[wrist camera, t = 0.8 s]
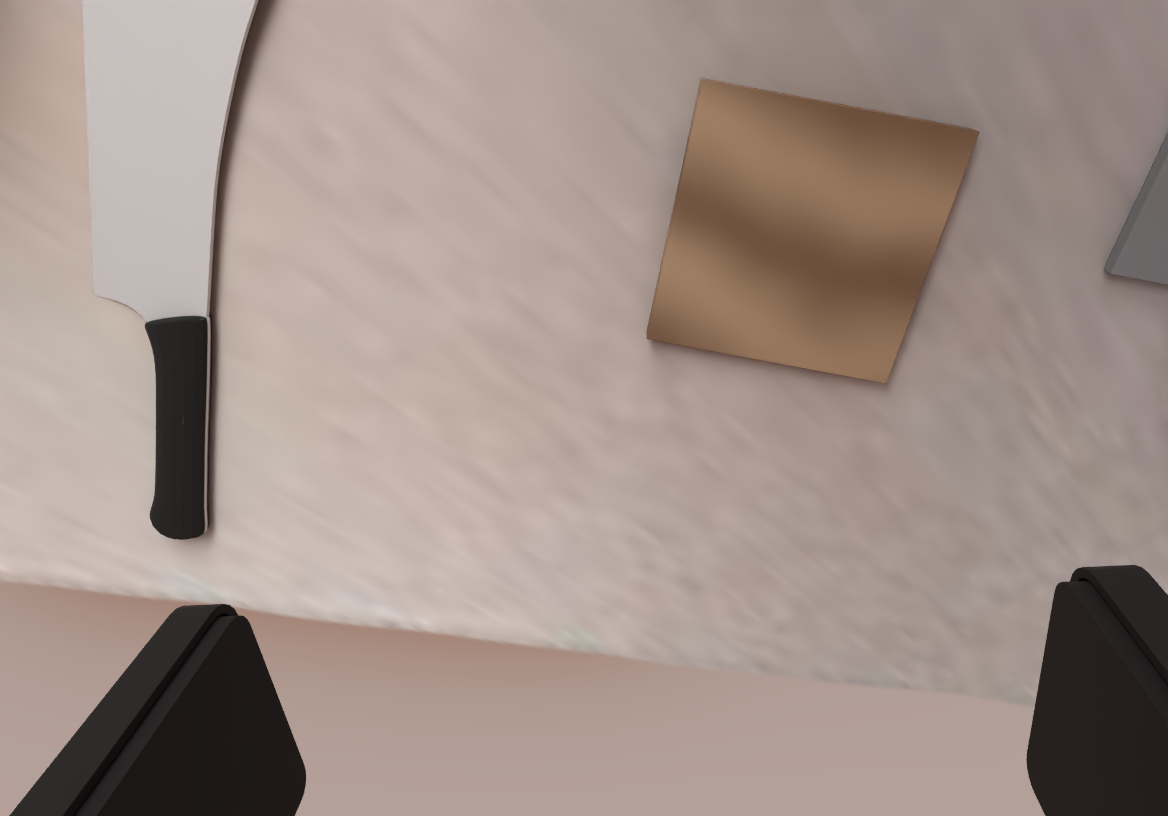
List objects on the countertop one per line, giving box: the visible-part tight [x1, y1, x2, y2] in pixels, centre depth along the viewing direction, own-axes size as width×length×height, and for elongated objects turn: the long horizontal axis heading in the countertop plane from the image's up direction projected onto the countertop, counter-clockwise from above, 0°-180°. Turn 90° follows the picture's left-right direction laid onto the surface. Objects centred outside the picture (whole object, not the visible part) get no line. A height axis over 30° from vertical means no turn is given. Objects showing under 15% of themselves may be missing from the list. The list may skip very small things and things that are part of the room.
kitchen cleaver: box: [82, 0, 259, 540], centre depth 37 cm, size 31×2×10 cm
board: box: [647, 78, 979, 383], centre depth 34 cm, size 11×11×1 cm
